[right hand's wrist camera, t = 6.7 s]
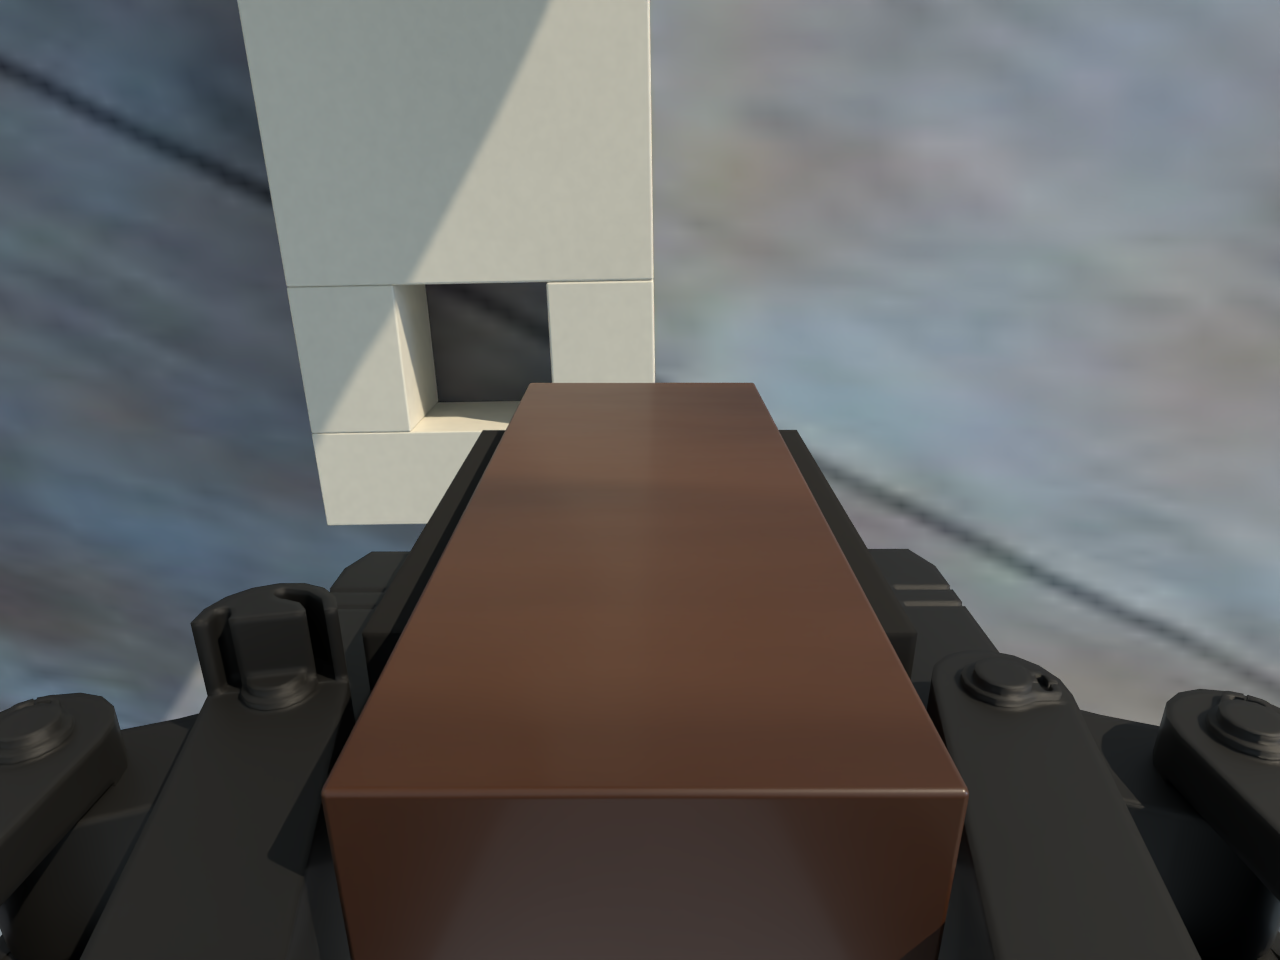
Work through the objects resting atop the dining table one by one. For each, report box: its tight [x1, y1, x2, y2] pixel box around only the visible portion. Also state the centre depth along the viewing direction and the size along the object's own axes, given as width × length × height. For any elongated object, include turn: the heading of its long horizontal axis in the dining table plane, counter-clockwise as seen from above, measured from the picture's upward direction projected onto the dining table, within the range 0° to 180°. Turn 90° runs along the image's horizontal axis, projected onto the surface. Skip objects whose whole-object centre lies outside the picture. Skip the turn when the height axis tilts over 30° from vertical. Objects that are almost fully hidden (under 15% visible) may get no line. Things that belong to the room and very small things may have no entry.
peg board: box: [237, 0, 655, 525], centre depth 21 cm, size 30×12×14 cm, turn 1°
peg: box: [321, 383, 969, 960], centre depth 10 cm, size 4×4×10 cm
